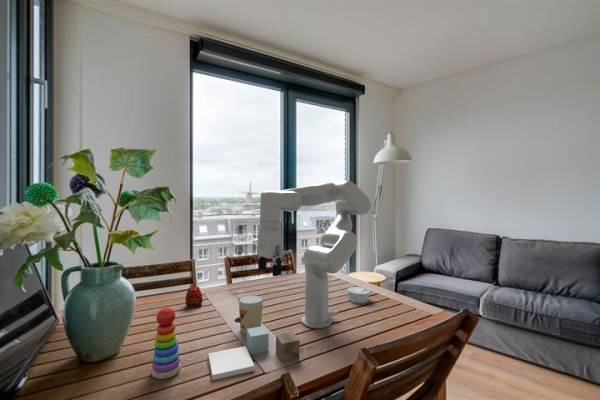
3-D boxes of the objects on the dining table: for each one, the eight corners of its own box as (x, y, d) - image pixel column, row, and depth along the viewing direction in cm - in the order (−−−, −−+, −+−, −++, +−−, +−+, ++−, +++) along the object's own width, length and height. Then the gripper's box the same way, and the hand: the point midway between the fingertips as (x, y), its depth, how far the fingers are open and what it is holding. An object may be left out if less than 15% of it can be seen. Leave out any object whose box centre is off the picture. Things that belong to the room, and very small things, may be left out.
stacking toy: (185, 363, 88) (185, 303, 88) (174, 380, 80) (175, 313, 80) (159, 364, 88) (159, 303, 87) (146, 380, 80) (146, 313, 80)
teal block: (263, 342, 101) (263, 325, 101) (268, 351, 96) (268, 333, 96) (246, 346, 99) (246, 328, 99) (250, 354, 94) (250, 336, 94)
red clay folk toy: (184, 309, 130) (185, 276, 130) (185, 304, 137) (186, 272, 137) (202, 307, 132) (202, 275, 132) (202, 302, 139) (203, 271, 139)
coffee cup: (236, 326, 114) (237, 296, 113) (259, 323, 117) (260, 294, 117) (240, 337, 105) (240, 305, 105) (265, 333, 108) (265, 301, 108)
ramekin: (371, 304, 139) (372, 294, 139) (348, 304, 139) (349, 293, 139) (366, 296, 150) (367, 286, 150) (345, 296, 150) (345, 286, 150)
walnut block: (292, 349, 97) (292, 331, 97) (299, 358, 92) (299, 340, 92) (275, 353, 95) (275, 335, 95) (281, 362, 89) (282, 343, 89)
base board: (245, 350, 96) (245, 346, 96) (254, 370, 85) (254, 365, 85) (208, 357, 91) (208, 353, 91) (212, 380, 80) (212, 374, 80)
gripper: (249, 223, 108) (248, 269, 108) (274, 227, 94) (273, 279, 94) (266, 223, 112) (265, 266, 112) (293, 227, 99) (291, 276, 99)
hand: (269, 272), depth 103 cm, fingers open, 9 cm apart
